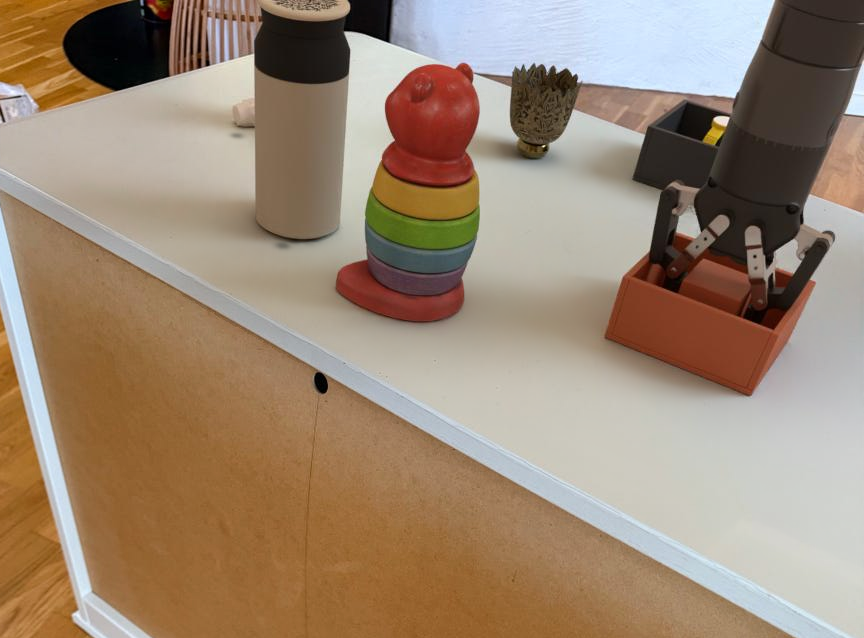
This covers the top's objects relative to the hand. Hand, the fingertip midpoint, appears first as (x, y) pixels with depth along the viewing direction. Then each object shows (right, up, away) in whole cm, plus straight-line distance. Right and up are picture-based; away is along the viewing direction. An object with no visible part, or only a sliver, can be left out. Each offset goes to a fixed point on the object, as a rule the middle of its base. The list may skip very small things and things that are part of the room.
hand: (701, 329), depth 79 cm
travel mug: (-36, +13, +8) cm, 39 cm away
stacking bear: (-25, +3, +1) cm, 26 cm away
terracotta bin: (0, -1, +1) cm, 1 cm away
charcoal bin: (+8, +24, +23) cm, 35 cm away
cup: (-11, +28, +24) cm, 38 cm away
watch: (+9, +24, +23) cm, 35 cm away
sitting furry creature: (-38, +29, +22) cm, 53 cm away
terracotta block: (0, 0, 0) cm, 0 cm away
